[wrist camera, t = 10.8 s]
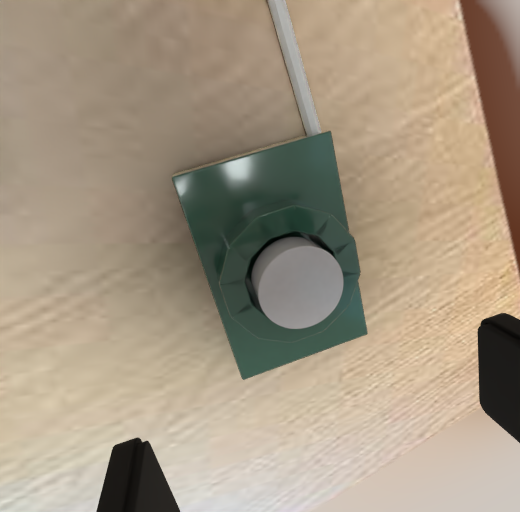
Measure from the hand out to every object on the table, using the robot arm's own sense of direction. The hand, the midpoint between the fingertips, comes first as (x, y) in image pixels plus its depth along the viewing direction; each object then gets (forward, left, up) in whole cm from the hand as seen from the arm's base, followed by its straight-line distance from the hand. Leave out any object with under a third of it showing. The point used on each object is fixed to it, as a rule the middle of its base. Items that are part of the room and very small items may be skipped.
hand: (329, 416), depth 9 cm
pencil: (-9, +5, -12) cm, 16 cm away
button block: (-1, +2, -12) cm, 12 cm away
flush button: (-1, +2, -8) cm, 8 cm away
